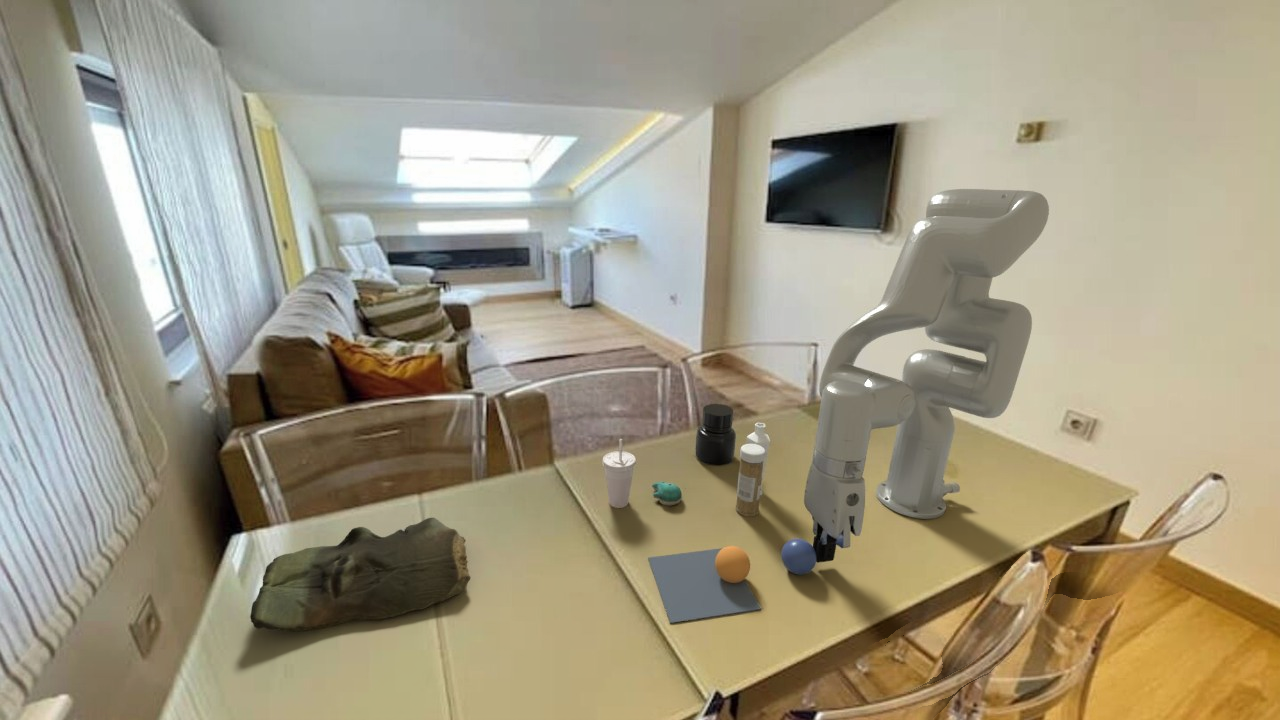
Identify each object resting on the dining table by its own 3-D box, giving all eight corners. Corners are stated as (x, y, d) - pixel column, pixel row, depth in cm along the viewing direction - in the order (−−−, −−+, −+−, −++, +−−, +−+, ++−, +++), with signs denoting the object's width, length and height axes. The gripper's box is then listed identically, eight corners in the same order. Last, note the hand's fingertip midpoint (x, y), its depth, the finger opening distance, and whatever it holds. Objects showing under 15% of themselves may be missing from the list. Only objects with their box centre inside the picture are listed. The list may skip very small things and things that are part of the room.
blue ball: (782, 529, 86) (770, 557, 88) (799, 552, 81) (786, 581, 83) (809, 533, 88) (797, 560, 90) (828, 555, 83) (815, 583, 84)
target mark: (726, 548, 91) (726, 547, 91) (760, 609, 78) (761, 608, 78) (648, 558, 88) (648, 557, 88) (670, 623, 75) (670, 622, 75)
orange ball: (732, 532, 85) (704, 551, 85) (746, 555, 80) (716, 575, 80) (747, 554, 87) (719, 572, 87) (761, 577, 82) (732, 596, 82)
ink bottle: (729, 447, 126) (733, 401, 122) (740, 465, 118) (745, 417, 114) (689, 448, 125) (692, 402, 121) (698, 467, 117) (701, 418, 113)
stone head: (471, 590, 76) (241, 626, 67) (471, 626, 81) (254, 665, 71) (467, 495, 92) (279, 514, 83) (467, 529, 96) (288, 551, 87)
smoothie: (610, 515, 99) (611, 449, 95) (597, 497, 105) (597, 434, 100) (640, 506, 102) (642, 442, 98) (626, 490, 107) (627, 428, 103)
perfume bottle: (739, 494, 107) (746, 427, 102) (744, 483, 111) (750, 418, 106) (762, 499, 106) (770, 432, 101) (766, 488, 109) (773, 423, 105)
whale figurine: (661, 511, 101) (662, 494, 100) (644, 491, 108) (645, 475, 106) (687, 503, 104) (688, 487, 103) (669, 485, 110) (670, 469, 109)
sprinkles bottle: (763, 512, 101) (770, 450, 97) (746, 520, 99) (753, 456, 95) (746, 500, 105) (753, 440, 101) (729, 507, 102) (735, 446, 98)
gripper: (891, 484, 75) (870, 587, 81) (833, 436, 89) (819, 528, 95) (844, 489, 73) (826, 594, 79) (792, 440, 87) (780, 533, 93)
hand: (822, 558), depth 87 cm, fingers closed
